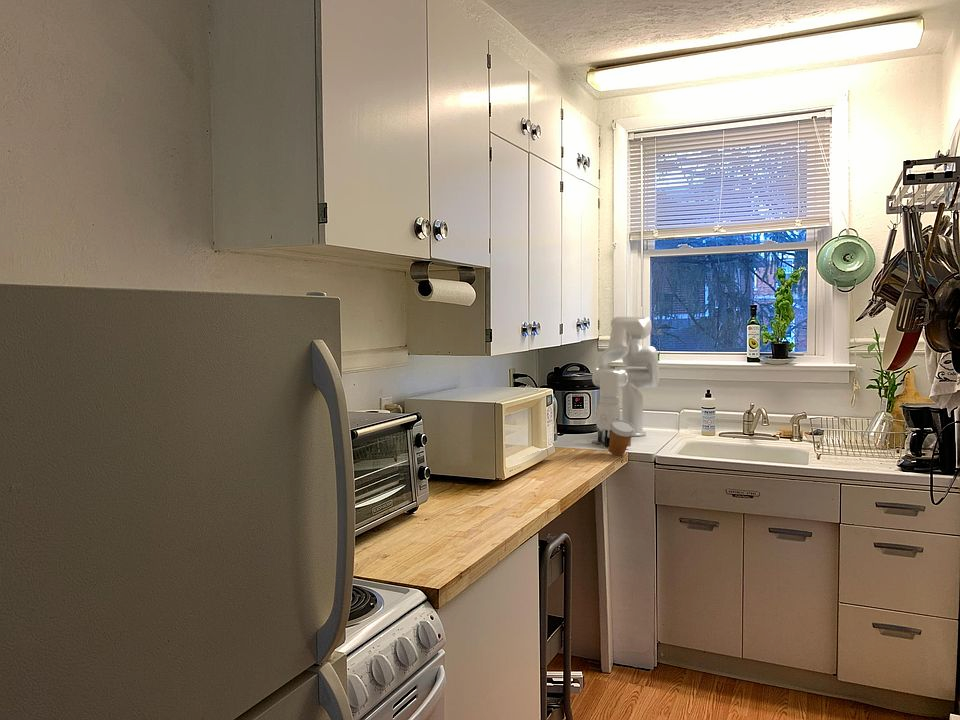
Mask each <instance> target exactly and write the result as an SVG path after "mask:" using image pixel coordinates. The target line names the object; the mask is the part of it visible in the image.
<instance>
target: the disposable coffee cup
mask: <svg viewBox="0 0 960 720" xmlns="http://www.w3.org/2000/svg"><path fill="white" fill-rule="evenodd" d="M610 427H611V433H610V441H609V447H608V452H609V453H610V454H612V455H614V456H619V457H620V456H623V455H624V454H625V452H626V450H627V448H628V447H627V446H628V444H629V441H630V439H631V440H632V437H633V436H632V435H633V434H634V432H635V430H634V426H633V425H632V424H631V423H630V422H628V421H625V420H622V419H621V420H615V421H613V422H612V423H611V425H610Z"/></svg>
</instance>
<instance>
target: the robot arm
mask: <svg viewBox="0 0 960 720" xmlns="http://www.w3.org/2000/svg"><path fill="white" fill-rule="evenodd" d="M610 327H611V332H610V337H609V343H608V347H607V348H606V349H604V351H602V352H601V353H600V354H599V355H598V357H596V359H595V361H594V365H593V370H592V376H591V377H592V378H591V379H592V381H591V382H592V384H593V385H594V386H595V387H598V388H599V403H598V407H597V413H596V428H597V429H598V428H599V430H600V431H602V432H603V436H604V437H605V441H604V444H603V446H604V448H608V449H609V441H610V433H611V427H610V425H611V423H612V422H613V421H615V420H625V421H628V422H630V423H631V424H632V425H633V426H634V430H635V432H634V434H633V435H632V437H643V436H646V435H647V432H646V431H644V430H643V429H644V428H643V427H644V422H643V421H644V397H643V394H642V392H641V391H640V390H639V389H640V388H641V389H643V388H647V389H650V388H651V389H652V388H657V387H658V385H659V382H660V371H659V369H660V368H659V355H658V351H657V349H656V348H655V347H654V346H651V345H642V344H641V342H640V341H641V340H644V339H646V338H648V336H649V335H650V334H651V332H652V321H651V319H650V318H649V317H648V316H615V317H613V318H612V319H611V322H610ZM620 359H622V362H623V364H624V365H625V366H626V367H623V368H604V367H605V366H607V365H608V364H610V363H613V362H615V361H618V360H620ZM620 388H621V408H620ZM638 388H639V389H638Z"/></svg>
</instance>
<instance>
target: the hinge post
mask: <svg viewBox="0 0 960 720" xmlns="http://www.w3.org/2000/svg"><path fill="white" fill-rule="evenodd" d="M591 443H592V444H593V443H596V444H595V445H600V444H603V445H604V442H603V441H602V431H600V430H599V428H597V440H596V439H595V440H592V441H591Z"/></svg>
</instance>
